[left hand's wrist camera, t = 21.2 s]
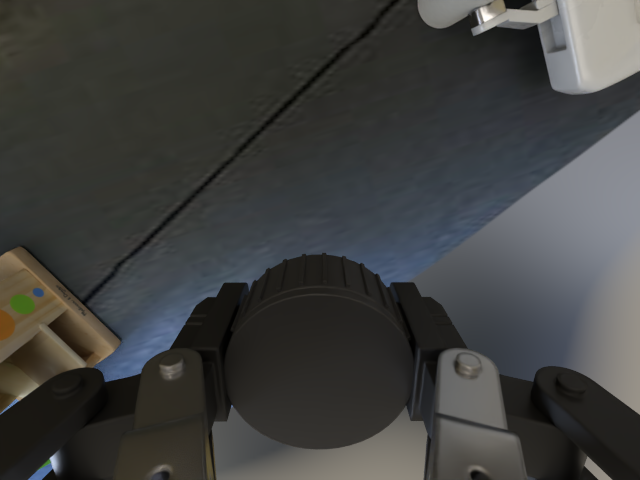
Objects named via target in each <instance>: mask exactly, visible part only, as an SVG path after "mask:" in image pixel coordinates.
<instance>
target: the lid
mask: <svg viewBox="0 0 640 480" xmlns="http://www.w3.org/2000/svg"><path fill="white" fill-rule="evenodd" d="M230 331H231V332H233V334H232V336H231V339H230V342H229V344H228V347H227V350H226V353H225V356H224V372H225V380H226V389H227V395H228V397H229V399H230V402H231V404H232V405H233V407H234V408H235V410H236V411H237V413H238V414H239V415H240V416H241V417H242V418H243V420H244V421H245V422H247V423H248V424H249V425H250V426H251V427H252V428H254V429H255V430H257V431H258V432H260V433H261V434H263V435H265V436H267V437H268V438H270V439H272V440H275V441H277V442H280V443H283V444H286V445H290V446H293V447H299V448H305V449H333V448H340V447H345V446H349V445H352V444H356V443H359V442H361V441H364V440H366V439H368V438H370V437H372V436H374V435H376V434H377V433H379V432H381V431H382V430H383V429H385V428H386V427H387V426H389V425H390V424H391V423H392V422H393V421H394V420H395V419H396V418H397V417H398V416H399V414H400V413H401V412H402V411H403V409H404V407H405V406H406V404H407V402H408V401H409V398H410V395H411V387H412V378H413V369H414V356H413V352H412V349H411V346H410V343H409V340H411V337H410V334H409V332H408V329H407V326H406V324H405V321H404V319H403V316H402V313H401V311H400V308H399V306H398V303H397V302H395V299H394V296H393V294H392V291H391V289H390V287H386V286H385V285H384V284H383V282H382V281H381V279H380V276H379V275H378V274H374V273H373V272H371V271H370V270H368V269H367V268H365V266H364V264H363V263H360V264H358V263H356V262H354V261H351V260H348V259H346V257H345V256H342V257H337V256H332V255H326V253H322V255H307V256H306V254H302V256H301V257H297V258H293V259H290V260H287V259H284V260H283V263H280V264H278V265H277V266H275V267H273V268H271V269H270V268H268V269H266V272H265V274H264V275H263V276H262V277H261V278H260V279H259V280H258V281H256V280H254V282H253V283H252V286H251V289H250V291H249V293H248V295H246V294H245V295H244V297H243V300H242V302H241V305H240V307H239V310H238V312H237V315H236V317H235V320H234V323H233V325H232V328H231V330H230Z"/></svg>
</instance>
